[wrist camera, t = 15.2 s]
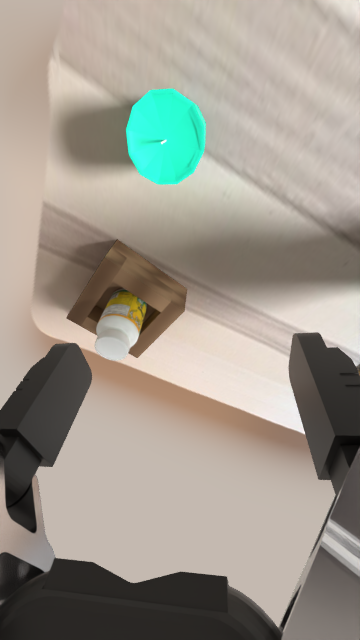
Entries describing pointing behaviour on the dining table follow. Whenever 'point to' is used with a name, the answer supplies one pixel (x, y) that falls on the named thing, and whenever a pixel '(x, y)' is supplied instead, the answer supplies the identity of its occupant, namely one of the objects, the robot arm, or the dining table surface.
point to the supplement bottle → (119, 325)
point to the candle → (165, 136)
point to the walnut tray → (139, 280)
